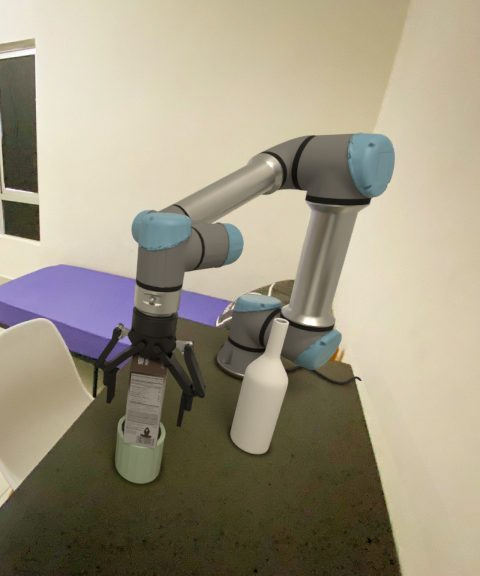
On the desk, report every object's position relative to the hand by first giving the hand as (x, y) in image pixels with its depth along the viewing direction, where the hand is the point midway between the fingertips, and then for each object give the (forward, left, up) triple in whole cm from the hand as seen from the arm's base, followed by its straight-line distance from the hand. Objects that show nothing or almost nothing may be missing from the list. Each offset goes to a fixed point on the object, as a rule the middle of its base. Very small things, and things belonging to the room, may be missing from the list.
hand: (143, 410), depth 63 cm
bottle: (-21, -17, -14) cm, 30 cm away
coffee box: (0, 0, -5) cm, 5 cm away
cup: (0, 0, -13) cm, 13 cm away
